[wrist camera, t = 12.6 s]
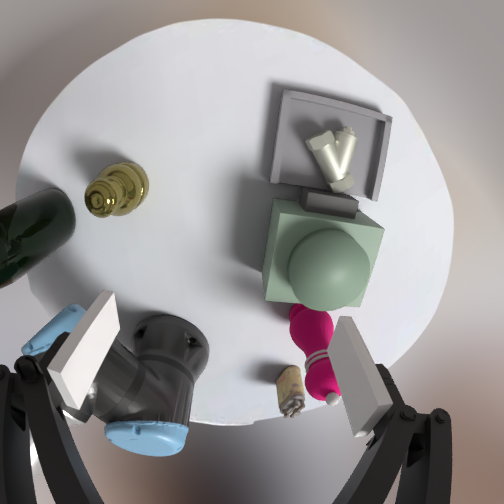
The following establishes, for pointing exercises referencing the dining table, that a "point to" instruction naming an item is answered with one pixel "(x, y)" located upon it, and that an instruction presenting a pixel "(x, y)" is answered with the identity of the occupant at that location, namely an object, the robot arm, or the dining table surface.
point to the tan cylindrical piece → (290, 392)
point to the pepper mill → (315, 351)
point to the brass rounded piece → (117, 190)
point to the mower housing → (319, 251)
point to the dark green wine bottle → (33, 232)
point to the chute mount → (333, 118)
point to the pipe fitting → (334, 156)
